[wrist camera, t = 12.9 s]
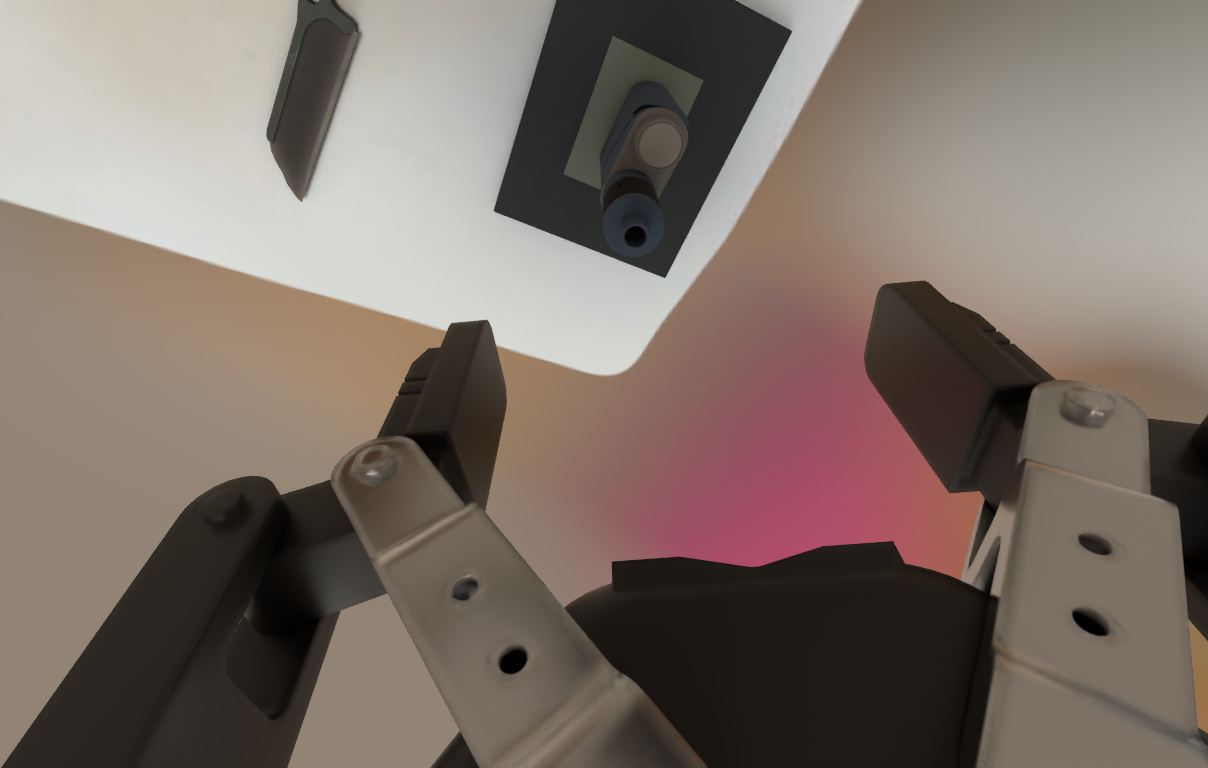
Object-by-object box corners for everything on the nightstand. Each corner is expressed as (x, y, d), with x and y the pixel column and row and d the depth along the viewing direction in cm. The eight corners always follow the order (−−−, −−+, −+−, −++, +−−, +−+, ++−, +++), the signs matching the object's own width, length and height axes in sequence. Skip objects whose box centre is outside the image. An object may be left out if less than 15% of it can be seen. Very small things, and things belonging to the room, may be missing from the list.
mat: (581, -81, 25) (581, -83, 24) (789, 30, 27) (792, 31, 27) (494, 208, 32) (493, 212, 32) (664, 275, 35) (665, 278, 34)
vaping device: (591, 166, 30) (588, 251, 20) (637, 68, 28) (659, 112, 18) (632, 188, 31) (649, 279, 21) (681, 94, 28) (726, 150, 18)
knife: (332, -109, 24) (326, -112, 23) (419, -45, 25) (415, -46, 25) (254, 172, 31) (247, 175, 30) (326, 211, 32) (321, 215, 31)
